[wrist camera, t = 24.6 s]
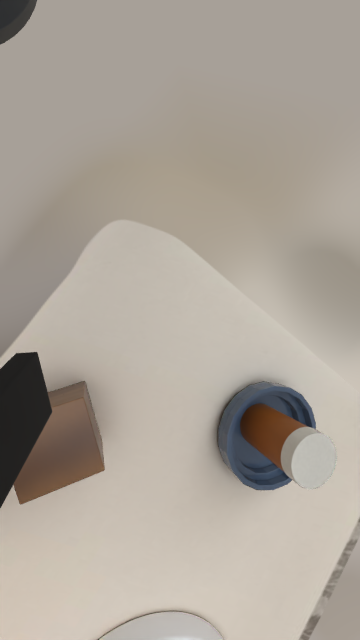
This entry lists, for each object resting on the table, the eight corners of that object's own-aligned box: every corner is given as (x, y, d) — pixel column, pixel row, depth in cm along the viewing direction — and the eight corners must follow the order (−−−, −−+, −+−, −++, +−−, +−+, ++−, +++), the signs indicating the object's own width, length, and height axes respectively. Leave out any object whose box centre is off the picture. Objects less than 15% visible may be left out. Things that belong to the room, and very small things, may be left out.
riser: (13, 402, 32) (-6, 426, 26) (84, 380, 35) (83, 396, 28) (33, 466, 33) (19, 505, 26) (102, 440, 35) (104, 470, 29)
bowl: (224, 375, 40) (236, 381, 37) (306, 386, 45) (323, 391, 42) (207, 475, 40) (217, 490, 37) (291, 476, 44) (307, 490, 41)
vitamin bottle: (243, 400, 41) (296, 431, 30) (279, 404, 42) (340, 434, 32) (235, 443, 40) (287, 489, 30) (272, 445, 42) (332, 489, 32)
